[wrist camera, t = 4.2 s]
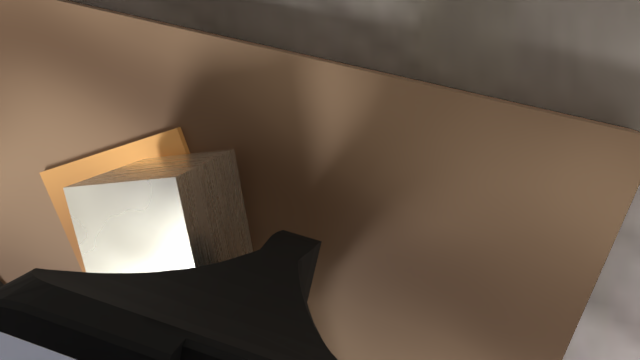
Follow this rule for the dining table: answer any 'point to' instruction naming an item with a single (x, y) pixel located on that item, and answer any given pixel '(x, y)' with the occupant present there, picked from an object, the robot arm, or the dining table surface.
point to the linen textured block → (161, 214)
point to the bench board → (324, 177)
